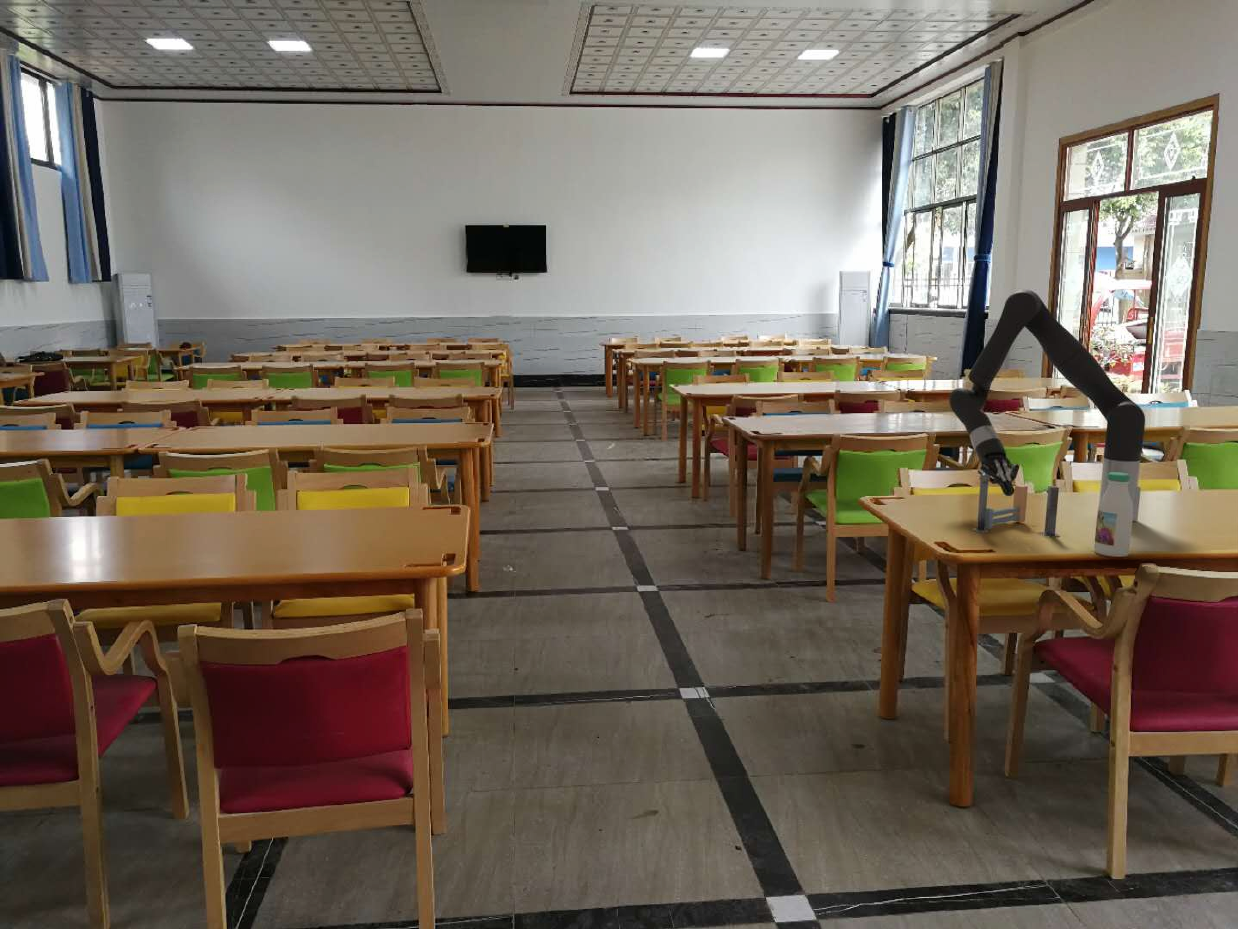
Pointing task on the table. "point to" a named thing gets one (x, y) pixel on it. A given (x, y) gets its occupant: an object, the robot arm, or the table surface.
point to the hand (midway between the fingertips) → (1010, 494)
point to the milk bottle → (1114, 518)
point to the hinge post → (982, 503)
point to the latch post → (1051, 512)
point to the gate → (1010, 509)
